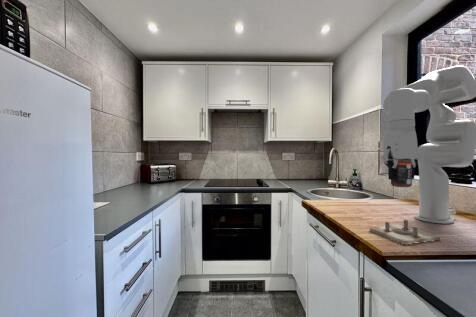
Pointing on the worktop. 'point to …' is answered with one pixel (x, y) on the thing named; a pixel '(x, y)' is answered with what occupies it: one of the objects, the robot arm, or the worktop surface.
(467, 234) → the worktop surface
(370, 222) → the worktop surface
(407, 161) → the supplement bottle
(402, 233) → the pin board
